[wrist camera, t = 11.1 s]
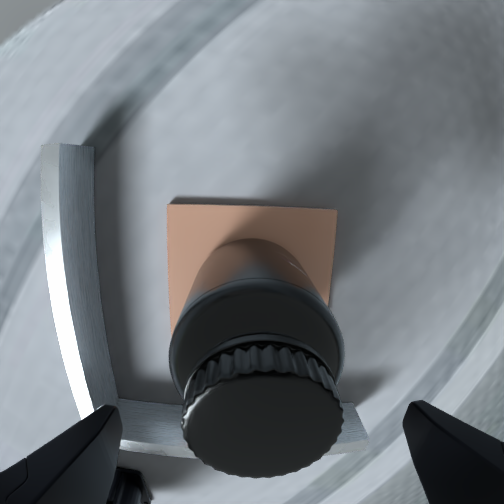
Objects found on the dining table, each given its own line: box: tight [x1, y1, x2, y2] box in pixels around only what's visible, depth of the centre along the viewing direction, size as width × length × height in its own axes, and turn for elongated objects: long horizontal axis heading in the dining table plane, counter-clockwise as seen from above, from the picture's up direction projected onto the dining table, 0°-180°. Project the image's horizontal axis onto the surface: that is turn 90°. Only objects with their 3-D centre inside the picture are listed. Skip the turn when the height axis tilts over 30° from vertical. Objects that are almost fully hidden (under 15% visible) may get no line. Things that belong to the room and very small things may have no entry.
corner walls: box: [41, 143, 370, 459], centre depth 18 cm, size 20×20×4 cm
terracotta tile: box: [167, 204, 338, 336], centre depth 20 cm, size 10×10×1 cm
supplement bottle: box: [169, 238, 345, 478], centre depth 14 cm, size 7×7×12 cm
